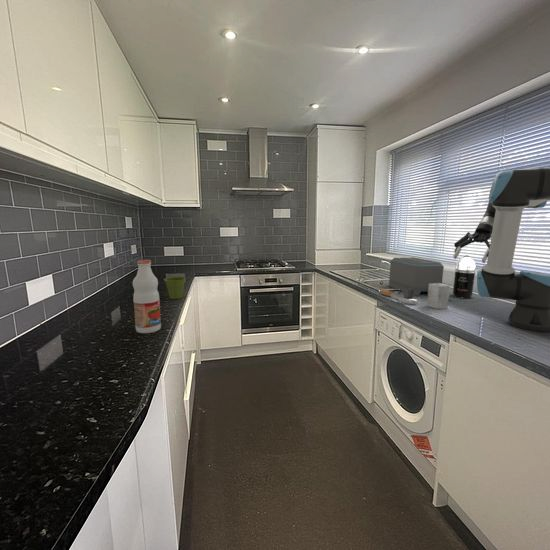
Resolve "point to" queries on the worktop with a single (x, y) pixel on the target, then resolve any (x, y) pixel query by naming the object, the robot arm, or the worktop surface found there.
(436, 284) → the socket
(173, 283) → the plant pot
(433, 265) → the toaster
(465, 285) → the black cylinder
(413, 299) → the ratchet
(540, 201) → the robot arm
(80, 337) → the worktop surface
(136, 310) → the fruit juice
